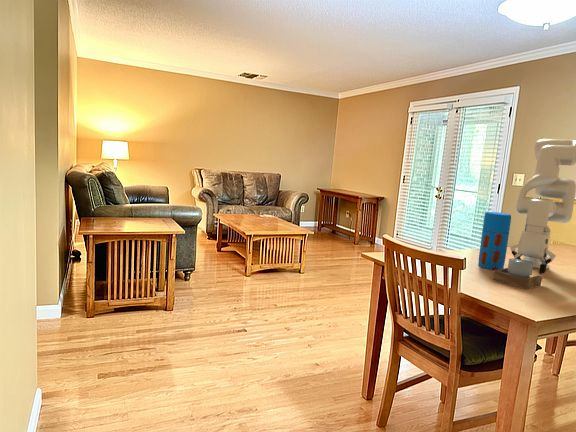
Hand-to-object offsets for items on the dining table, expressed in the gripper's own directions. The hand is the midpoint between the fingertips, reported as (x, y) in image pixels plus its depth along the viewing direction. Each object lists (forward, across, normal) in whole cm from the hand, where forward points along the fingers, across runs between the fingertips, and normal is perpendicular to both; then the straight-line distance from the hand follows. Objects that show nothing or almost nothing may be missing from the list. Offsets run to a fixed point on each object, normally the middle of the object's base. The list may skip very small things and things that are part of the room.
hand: (529, 270), depth 169 cm
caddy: (+4, 0, +8) cm, 10 cm away
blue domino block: (+4, +19, -6) cm, 20 cm away
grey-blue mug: (+4, 0, +6) cm, 7 cm away
